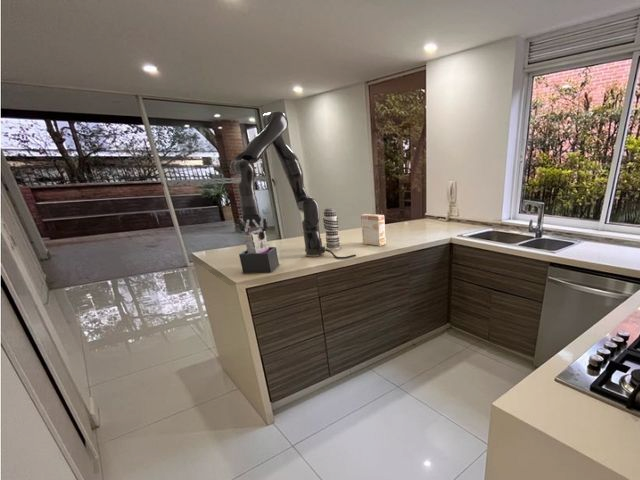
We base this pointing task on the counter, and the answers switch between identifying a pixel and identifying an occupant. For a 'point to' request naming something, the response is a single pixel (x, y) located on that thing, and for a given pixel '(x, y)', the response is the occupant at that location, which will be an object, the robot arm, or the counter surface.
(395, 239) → the counter surface
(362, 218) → the coffeecake box
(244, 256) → the bin
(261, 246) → the candy bar box
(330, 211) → the decorative candle
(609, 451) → the counter surface
